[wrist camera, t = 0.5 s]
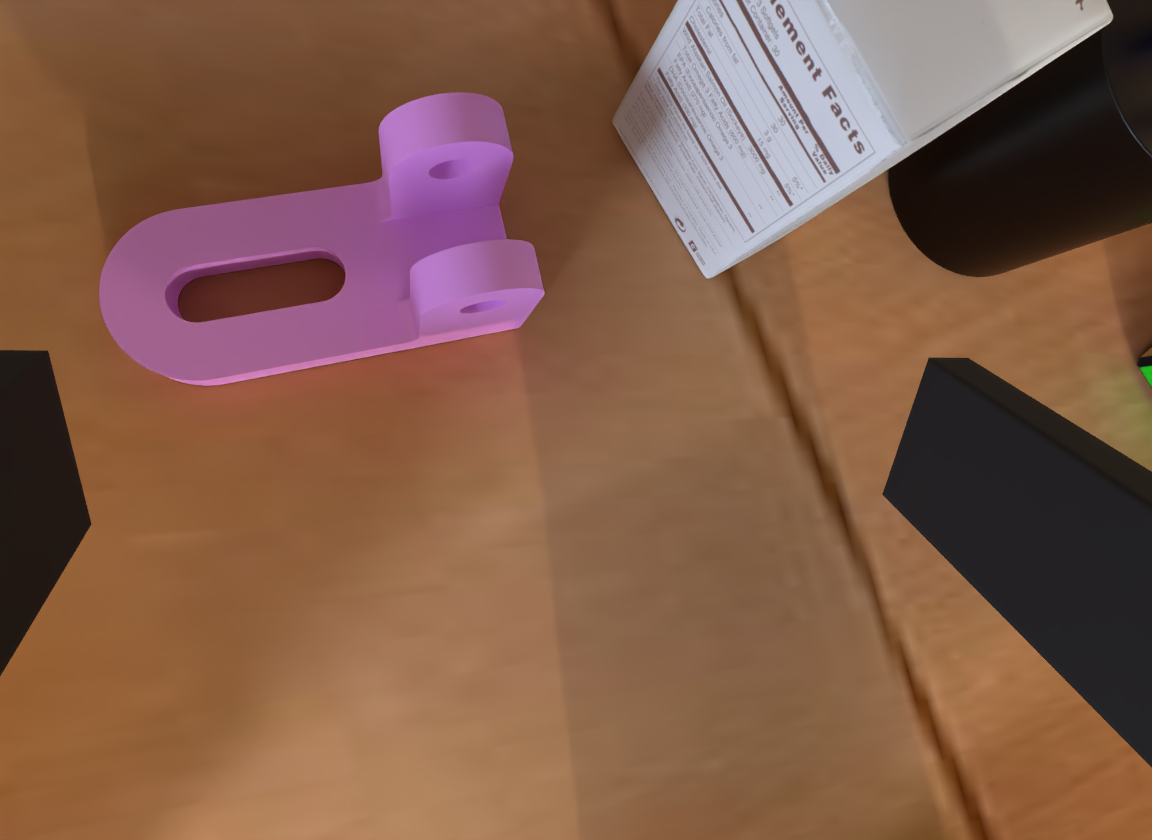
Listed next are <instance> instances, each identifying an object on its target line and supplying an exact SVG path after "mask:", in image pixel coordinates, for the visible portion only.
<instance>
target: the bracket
mask: <svg viewBox="0 0 1152 840" xmlns="http://www.w3.org/2000/svg"><path fill="white" fill-rule="evenodd" d="M379 142H380V153H381V163H382V174H383V175H382V177H381V178H380V179H378V180H376V181H373V182H369V183H362V184H355V185H347V186H340V187H333V188H326V189H319V190H312V191H304V192H297V193H290V194H283V195H276V196H268V197H261V198H254V199H247V200H240V201H233V202H225V203H218V204H211V205H204V206H197V207H189V208H182V209H176V210H171V211H166V212H163V213H160V214H157V215H154V216H152V217H149V218H147V219H146V220H144V221H142V222H140V223H139V224H137V225H136V226H134V227H133V228H131V229H130V230H129V231H128V232H127V233H126V234H124V236H123V237H122V238H121V239H120V240H119V241H118V242H117V243H116V245H115V246H114V248H113V249H112V250H111V252H110V254H109V256H108V257H107V260H106V262H105V264H104V267H103V270H102V274H101V279H100V285H99V299H100V307H101V312H102V316H103V318H104V321H105V324H106V326H107V328H108V330H109V332H110V334H111V335H112V337H113V339H114V340H115V341H116V343H117V344H118V345H119V346H120V348H121V349H122V350H123V351H124V352H125V353H126V354H127V355H128V356H130V357H131V358H132V359H133V360H135V361H136V362H137V363H139V364H140V365H142V366H144V367H145V368H147V369H149V370H151V371H153V372H155V373H158V374H160V375H163V376H166V377H168V378H171V379H173V380H176V381H179V382H183V383H187V384H193V385H203V386H211V385H222V384H228V383H233V382H238V381H244V380H249V379H254V378H259V377H265V376H270V375H275V374H280V373H286V372H291V371H296V370H301V369H307V368H312V367H317V366H322V365H328V364H333V363H338V362H343V361H349V360H354V359H359V358H364V357H370V356H375V355H380V354H385V353H391V352H396V351H401V350H406V349H412V348H417V347H422V346H427V345H433V344H438V343H443V342H448V341H454V340H459V339H464V338H469V337H475V336H480V335H485V334H490V333H496V332H501V331H506V330H511V329H517V328H520V327H521V325H522V324H523V323H524V321H525V320H526V319H527V317H528V316H529V315H530V313H531V312H532V311H533V309H534V308H535V307H536V305H537V304H538V303H539V301H540V300H541V299H542V297H543V296H544V294H545V293H544V288H543V284H542V279H541V275H540V271H539V266H538V262H537V257H536V253H535V249H534V246H533V245H532V244H531V243H529V242H527V241H522V240H511V239H507V237H506V233H505V229H504V224H503V220H502V215H501V211H500V207H499V203H500V199H501V196H502V193H503V190H504V187H505V184H506V181H507V178H508V175H509V172H510V169H511V166H512V163H513V159H514V158H513V152H512V148H511V143H510V139H509V134H508V130H507V126H506V121H505V117H504V112H503V109H502V107H501V105H500V104H499V103H498V102H497V101H495V100H494V99H492V98H490V97H487V96H484V95H481V94H476V93H465V92H453V93H442V94H436V95H431V96H426V97H423V98H419V99H416V100H413V101H411V102H408V103H406V104H404V105H402V106H400V107H398V108H396V109H395V110H393V111H392V112H390V113H389V114H388V115H387V116H386V117H385V118H384V119H383V120H382V122H381V124H380V126H379ZM317 258H324V259H328V260H331V261H334V262H335V263H337V264H338V265H340V266H341V267H342V268H343V270H344V271H345V273H346V277H345V283H344V285H343V287H342V289H341V291H340V292H339V293H338V294H337V295H336V296H334V297H333V298H331V299H329V300H326V301H322V302H317V303H311V304H305V305H299V306H293V307H288V308H282V309H276V310H270V311H264V312H258V313H253V314H247V315H241V316H235V317H229V318H223V319H218V320H212V321H206V322H199V323H195V322H188V321H185V320H184V319H183V318H182V316H181V314H180V312H179V309H178V297H179V294H180V292H181V290H182V289H183V287H184V286H185V285H186V284H187V283H188V282H190V281H191V280H193V279H195V278H198V277H203V276H209V275H216V274H222V273H228V272H234V271H241V270H247V269H253V268H260V267H266V266H272V265H278V264H285V263H291V262H297V261H304V260H310V259H317Z"/></svg>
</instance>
